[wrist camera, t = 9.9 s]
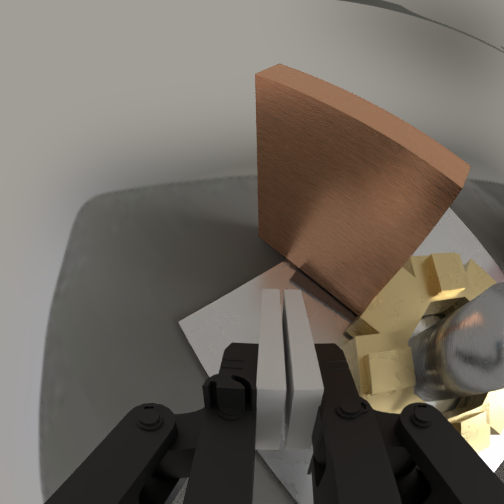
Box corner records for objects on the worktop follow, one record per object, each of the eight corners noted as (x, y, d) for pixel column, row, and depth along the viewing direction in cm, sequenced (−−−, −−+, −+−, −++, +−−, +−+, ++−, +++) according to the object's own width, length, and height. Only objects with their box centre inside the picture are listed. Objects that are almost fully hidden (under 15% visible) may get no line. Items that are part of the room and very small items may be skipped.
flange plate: (418, 180, 24) (452, 111, 17) (553, 366, 14) (614, 338, 6) (179, 323, 18) (128, 264, 11) (370, 577, 8) (415, 631, 1)
